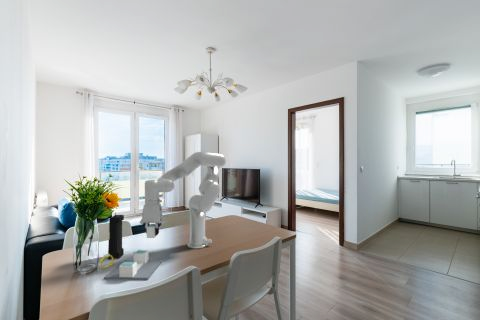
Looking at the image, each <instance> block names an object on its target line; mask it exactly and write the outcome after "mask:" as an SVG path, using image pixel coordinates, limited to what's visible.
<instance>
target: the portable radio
mask: <svg viewBox="0 0 480 320" xmlns="http://www.w3.org/2000/svg"><path fill="white" fill-rule="evenodd" d="M114 214H115V215H112V216H110V217H109V219H108V220H109V221H108V223H109V224H108V225H109V227H108V231H109V232H108V233H109V239H108V244H107V245H108V246H107V254H110V255H111V256H112V257H113V258H114V260H117V259H118V260H119V259H120V258H121V257H122V256H124V254H125V252H124V251H125V249H124V248H123V220H125V215H124V214H117V212H114ZM111 256H109V257H107V259H108V260H112V257H111Z"/></svg>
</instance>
